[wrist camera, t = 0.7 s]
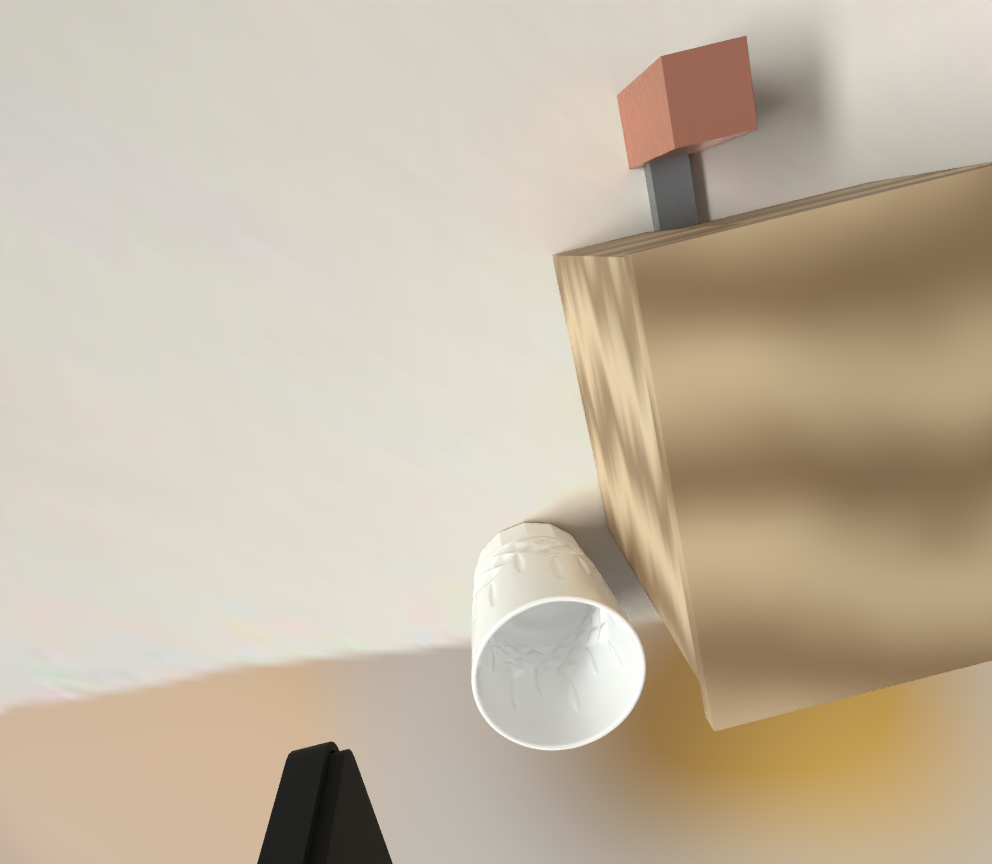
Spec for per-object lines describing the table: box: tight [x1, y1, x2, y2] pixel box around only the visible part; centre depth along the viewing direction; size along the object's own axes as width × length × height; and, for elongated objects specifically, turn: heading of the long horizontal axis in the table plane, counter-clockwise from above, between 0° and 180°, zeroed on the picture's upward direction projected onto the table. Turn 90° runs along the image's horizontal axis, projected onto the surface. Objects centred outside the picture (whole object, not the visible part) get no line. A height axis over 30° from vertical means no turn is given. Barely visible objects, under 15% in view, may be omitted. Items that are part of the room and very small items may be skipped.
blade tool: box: [617, 36, 757, 232], centre depth 33 cm, size 21×4×7 cm, turn 13°
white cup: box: [472, 523, 646, 750], centre depth 35 cm, size 8×8×10 cm
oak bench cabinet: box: [552, 162, 992, 731], centre depth 29 cm, size 16×14×17 cm
